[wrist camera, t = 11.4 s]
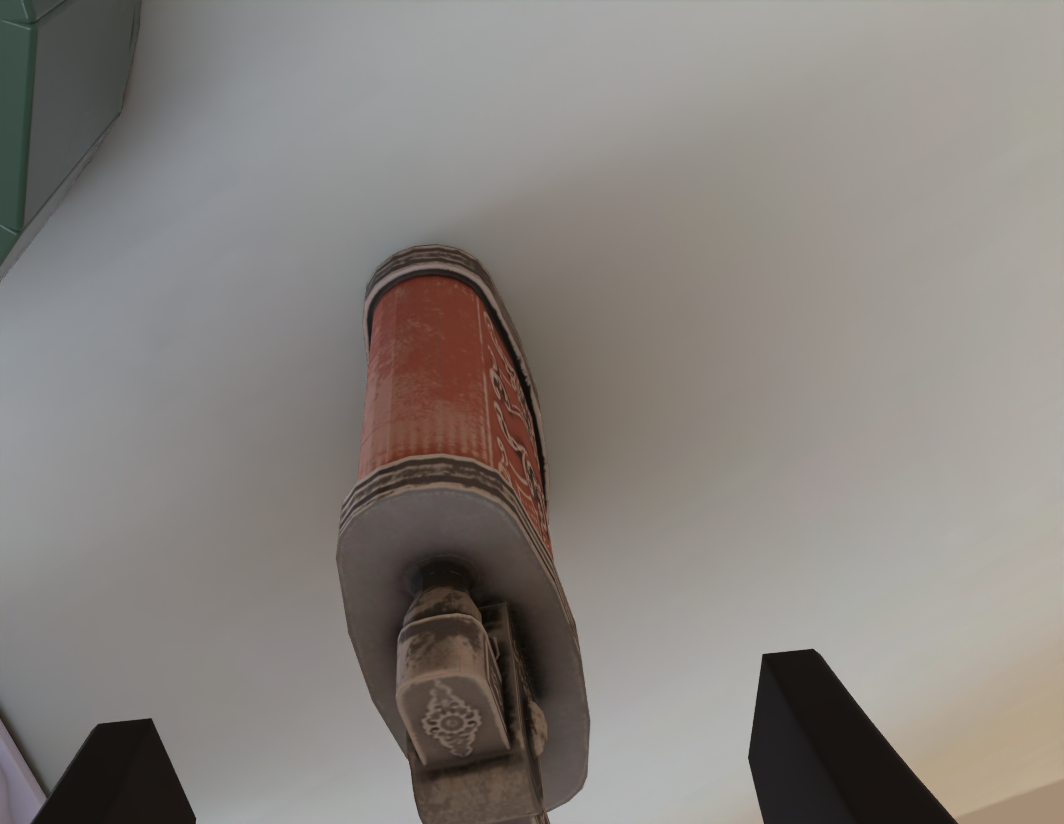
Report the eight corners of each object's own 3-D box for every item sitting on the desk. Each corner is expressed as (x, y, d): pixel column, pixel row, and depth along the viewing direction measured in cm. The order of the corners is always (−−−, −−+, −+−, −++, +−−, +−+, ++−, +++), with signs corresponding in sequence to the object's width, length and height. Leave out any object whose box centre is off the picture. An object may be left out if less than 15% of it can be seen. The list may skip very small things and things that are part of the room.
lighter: (331, 265, 19) (257, 666, 11) (498, 228, 19) (552, 606, 11) (434, 552, 23) (437, 983, 15) (567, 524, 23) (642, 944, 15)
